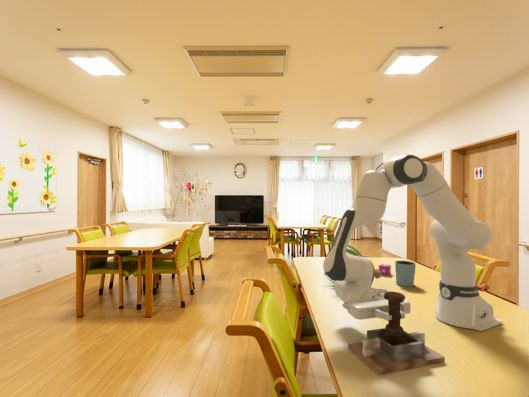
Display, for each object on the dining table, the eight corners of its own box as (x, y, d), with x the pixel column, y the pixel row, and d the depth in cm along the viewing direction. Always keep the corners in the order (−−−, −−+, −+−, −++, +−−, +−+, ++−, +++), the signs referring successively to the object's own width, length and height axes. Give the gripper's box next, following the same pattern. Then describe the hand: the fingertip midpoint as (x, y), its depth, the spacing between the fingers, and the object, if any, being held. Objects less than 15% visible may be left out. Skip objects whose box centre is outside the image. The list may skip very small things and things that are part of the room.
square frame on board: (407, 339, 96) (407, 322, 96) (444, 362, 82) (444, 342, 82) (348, 348, 89) (348, 330, 89) (378, 375, 76) (378, 354, 76)
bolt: (388, 338, 90) (388, 289, 90) (405, 344, 86) (406, 293, 86) (381, 345, 85) (382, 294, 85) (400, 351, 82) (401, 298, 82)
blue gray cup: (405, 281, 164) (405, 260, 164) (420, 286, 154) (420, 263, 155) (390, 282, 161) (390, 261, 161) (404, 288, 151) (405, 265, 151)
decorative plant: (384, 305, 142) (321, 299, 146) (374, 280, 166) (320, 276, 170) (390, 254, 136) (324, 250, 141) (378, 237, 160) (322, 233, 165)
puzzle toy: (381, 273, 183) (381, 263, 183) (390, 274, 180) (390, 265, 180) (378, 274, 178) (378, 265, 178) (388, 276, 175) (388, 266, 175)
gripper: (339, 294, 95) (366, 309, 82) (391, 289, 101) (424, 303, 88) (339, 313, 95) (365, 332, 82) (391, 307, 101) (424, 324, 88)
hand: (396, 317), depth 85 cm, fingers closed on bolt, 3 cm apart
